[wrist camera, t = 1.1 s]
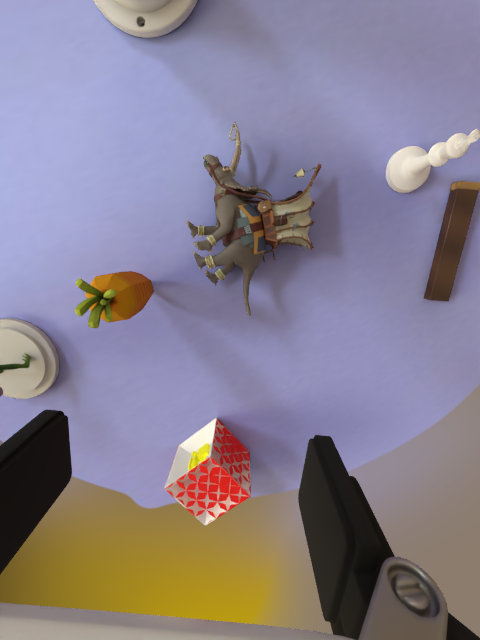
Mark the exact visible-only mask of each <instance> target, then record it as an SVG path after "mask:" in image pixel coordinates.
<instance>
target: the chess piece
mask: <svg viewBox="0 0 480 640" xmlns="http://www.w3.org/2000/svg"><path fill="white" fill-rule="evenodd" d="M479 133H480V131H479V130H478V129H475V130H473V131H472V132H471V133H470V135H469V136H467V135H466V134H464V133H457V134H455V135H453V136H452V137H450V138H449V139H448V141H447V142H446V143H444V142H441V143H437V144H435V145H434V146H433V147H432V148H431V149H430V151H429V154H427V152H426V151H425V150H424V149H422V148H420V147H417V146H409V147H406V148H403V149H401V150H399V151H397V152H396V153H395V154H394V155H393V156H392V157H391V159H390V160H389V162H388V164H387V167H386V180H387V182H388V184H389V186H390V187H391V188H392V189H393V190H394V191H396V192H399V193H408V192H411V191H414V190H415V189H417V188H418V187H420V186H421V185H422V184H423V183H424V182H425V181H426V179H427V177H428V175H429V173H430V168H431V165H433V166H435V167H439V166H442V165H444V164H445V163H446V162H447V161H448V160H449V158H459V157H461V156H463V155H464V154H465V153H466V152H467V150H468V148H469V144H470V143H472V142H474V141H476V140H477V139H478V138H479V137H480V135H479Z"/></svg>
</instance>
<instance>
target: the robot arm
mask: <svg viewBox="0 0 480 640" xmlns="http://www.w3.org/2000/svg"><path fill="white" fill-rule="evenodd" d="M197 1H198V0H94V2H95V4H96V5H97V7H98V8H99V9H100V11H101V12H102V13H103V15H104V16H105V17H106V18H107V19H108V20H109V21H110V22H111V23H112V24H113V25H114V26H116V27H117V28H119V29H121V30H122V31H124V32H126V33H128V34H131V35H134V36H137V37H144V38H151V37H159V36H162V35H165V34H168V33H170V32H171V31H173V30H174V29H176V28H178V27H179V26H180V25H181V24H182V23H183V22H184V21H185V20H186V19H187V18H188V16H189V15H190V13H191V12H192V10H193V9H194V7H195V5H196V3H197ZM71 475H72V468H71V454H70V441H69V427H68V417H67V416H65V415H64V413H63V412H62V411H55V410H44V411H43V412H41V413H40V414H39V415H38V416H36V417H35V418H34V419H33V420H31V421H30V422H29V423H28V424H26V425H25V426H24V427H23V428H22V429H20V430H19V431H18V432H17V433H15V434H14V435H13V436H12V437H10V438H9V439H8V440H7V441H5V442H4V443H3V444H2V445H1V446H0V574H1V573H2V571H3V570H4V569H5V567H6V566H7V565H8V563H9V562H10V561H11V559H12V558H13V557H14V555H15V554H16V553H17V551H18V550H19V548H20V547H21V546H22V545H23V543H24V542H25V541H26V539H27V538H28V536H29V535H30V534H31V533H32V531H33V530H34V529H35V527H36V526H37V524H38V523H39V522H40V520H41V519H42V518H43V517H44V515H45V514H46V512H47V511H48V510H49V508H50V507H51V506H52V504H53V503H54V502H55V500H56V499H57V498H58V496H59V495H60V494H61V492H62V491H63V490H64V488H65V487H66V486H67V484H68V483H69V481H70V478H71ZM298 498H299V507H300V511H301V516H302V521H303V525H304V530H305V534H306V538H307V542H308V548H309V553H310V557H311V561H312V566H313V571H314V576H315V580H316V585H317V589H318V594H319V598H320V603H321V608H322V612H323V616H324V619H325V621H329V622H330V623H331V627H332V631H333V634H327V633H321V632H316V631H309V630H300V629H291V628H282V627H274V626H264V625H256V624H244V623H233V622H223V621H212V620H201V619H190V618H178V617H168V616H155V615H144V614H133V613H120V612H109V611H96V610H84V609H72V608H60V607H48V606H35V605H22V604H8V603H0V640H480V638H479V637H478V636H477V635H475V634H474V633H473V632H472V631H470V630H469V629H468V628H467V627H466V626H464V625H463V624H462V623H461V622H459V621H458V620H457V619H456V618H454V617H453V616H452V615H451V614H449V613H448V610H447V603H446V601H445V598H444V596H443V593H442V592H441V590H440V589H439V587H438V586H437V584H436V583H435V581H434V580H433V579H432V578H431V577H430V576H429V575H428V574H427V573H426V572H425V571H424V570H423V569H422V568H420V567H419V566H418V565H416V564H415V563H413V562H411V561H409V560H407V559H404V558H401V557H395V556H394V554H393V552H392V550H391V548H390V546H389V544H388V542H387V541H386V538H385V536H384V534H383V532H382V530H381V528H380V526H379V524H378V522H377V520H376V518H375V516H374V514H373V512H372V510H371V508H370V505H369V504H368V501H367V499H366V497H365V495H364V493H363V491H362V489H361V487H360V485H359V483H358V481H357V480H356V478H354V477H353V476H349V475H348V472H347V470H346V468H345V466H344V464H343V462H342V459H341V457H340V455H339V453H338V451H337V449H336V447H335V444H334V442H333V440H332V438H331V437H330V436H320V435H315V436H314V439H310V440H309V443H308V448H307V454H306V459H305V464H304V469H303V474H302V479H301V484H300V489H299V497H298Z"/></svg>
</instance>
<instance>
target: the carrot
mask: <svg viewBox="0 0 480 640" xmlns="http://www.w3.org/2000/svg"><path fill="white" fill-rule="evenodd" d="M76 285H77V286H78V287H79V288H80V289H82V290H83V291H85V292H86V293H85V294H86V298H87V299H86V300H84V301H83V302H81V303H80V304H79V305H78V306H77V307H76V308H75V312H76V314H77V315H78V316H82V315H83V314H84V313H85V312H86V311H87V310H88V309H89V308H90V310H91V314H90V317H89V321H88V325H89V327H91V328H98V327H99V322H100V318H101V319H103V320H105V321H106V322H114V321H120V320H126V319H130V318H131V317H133V316H134V315H135V314H137V313H138V312H139V311H141V310H142V309H143V308H144V306H145V305H146V303H147V302H148V300H149V299H150V297H151V295H152V294H153V292H154V290H153V286H152V282H151V280H149V279H148V278H146V277H145V276H143V275H142V274H139V273H136V272H132V271H131V272H119V273H112V274H107V275H101V276H96V277H95V278H94V279H93V281H92V283H91V285H89V284H87V283H86V282H85V281H83V280H82V279H80V278H79V279H78V280H77V281H76Z"/></svg>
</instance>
